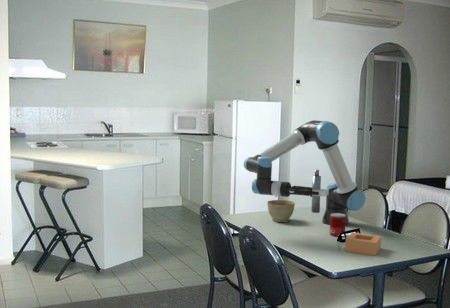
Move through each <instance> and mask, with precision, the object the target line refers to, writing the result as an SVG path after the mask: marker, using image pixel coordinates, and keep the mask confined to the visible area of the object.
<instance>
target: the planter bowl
mask: <svg viewBox="0 0 450 308" xmlns="http://www.w3.org/2000/svg"><path fill="white" fill-rule="evenodd" d="M266 205H267V211H268V214H269V216H270V217H271V219H272V221H273V222H276V223H285V222H288V221H290V218H292V216H293V213H294V210H295V205H296V202H295V201H292V200H285V199H274V200H273V199H271V200H268V201H267V202H266Z"/></svg>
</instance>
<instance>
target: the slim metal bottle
mask: <svg viewBox="0 0 450 308" xmlns="http://www.w3.org/2000/svg"><path fill="white" fill-rule="evenodd" d="M321 185H322V175H320V169H315V170H314V175H312V184H311V186H312V191H313V190H321V189H322V188H321ZM320 210H321V196H313V195H312V197H311V213H313V214H319V213H320V212H321V211H320Z"/></svg>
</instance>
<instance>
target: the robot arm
mask: <svg viewBox="0 0 450 308" xmlns="http://www.w3.org/2000/svg"><path fill="white" fill-rule="evenodd" d="M339 138H340V130H339V128H338V126H337V125H336V123H334V122H331V121H328V120H315V119H314V120H311V121H307V122H305V123H304V124H301V125H300V126H299V127H297V128H295V129H294V130H293V132H292V133H291V134H289V135H286V137H284V138H282V139H281V140H279V141H277V142H276V143H273V145H270V146H269V147H268V148H266V149H264V150H263V151H261V152H259V153H258V154H255V155H254V156H249V157H247V158H244V161H243V167H244V169H245V170H246V171H248V172H249V173H254V174H256V179H253V181H252V183H251V190H252V193H253V194H258V195H265V196H274V197H275V198H277V197H286V198H288V197H290V196H291V195H292V196H293V195H294V196H295V195H296V196H305V197H310V198H312V195H313V196H320V197H326V198H325V199H326V200H325V201H326V202H325V210H324V212H323V216H322V223H323V224H326V225H329V226H330V215H331V214H332V213H341V214H345V215H346V223H345V226H347V225H349V224H350V219H349V215H348V211H353V212H355V211H356V212H357V211H359V210H361V209H363V207H364V206H365V203H366V201H367V200H366V199H367V198H366V194H365V193H364V191H362V190H360V189H359V187H358V184H357V183H356V182H354V181H353V180H352V177H351V175H350V173H349V170H348V167H347V165H346V163H345V161H344V157H343V155H342V153H341V150H340V147H339V146H338V144H339V142H340V141H339ZM311 142H315V144H316V146H317V148H318V150H320V151H322V152H323V153H322V154H323V156H324V158H325V160H326V162H327V165H328V167H329V170H330V172H331V175H332V177H333V179H334V181H335V183H329V184H327V185H326V189H325V188H321V190H313V191H312V187H311V186H303V185H302V186H301V185H292V184H291V182H289V181H281V180H272V172H273V162H275V161H276V160H278V159H279V158H280V157H282V156H284V155H285V154H287V153H289V152H290V151H292V150H294V149H296V148H297V147H299V146H300V145H302V146H304V145H305V144H307V143H311ZM347 210H348V211H347Z"/></svg>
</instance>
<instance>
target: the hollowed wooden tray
mask: <svg viewBox="0 0 450 308" xmlns="http://www.w3.org/2000/svg"><path fill="white" fill-rule="evenodd" d="M344 245H345V248H344V251H345V252H348V253H354V254H355V253H357V254H363V255H368V256H377V254H378V253H379V251H380V250H381V248H382V235H377V234H376V235H374V234H368V233H367V234H366V233H360V232H351V233H350V234H349V235H348V236H347V237H346V238H345V244H344Z"/></svg>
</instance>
